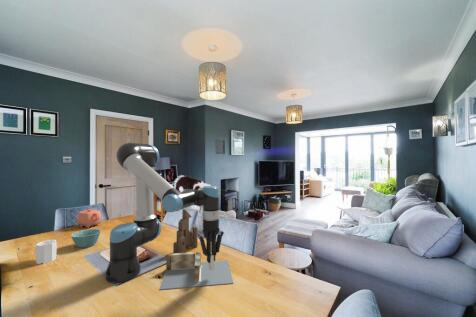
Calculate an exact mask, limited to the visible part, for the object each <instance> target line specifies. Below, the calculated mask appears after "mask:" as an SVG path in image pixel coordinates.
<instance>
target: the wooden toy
mask: <svg viewBox="0 0 476 317" xmlns="http://www.w3.org/2000/svg"><path fill="white" fill-rule="evenodd" d="M181 210H182V213H181V215H182V218H181V219H179V221H178V225H177V229H178V230H176V241H174V242H173V245H172V246H173V247H172V248H173V250H172V251H173V253H186V249H190V248H193V249H194V248H195V249H196V248H198V239H199V238H198V235H199V234H198V230H199V228H198V226H193V227H192V229H191V230H192V231H190V218H192V215H191V214H190V213H189V211H187V209H185V208H184V209H181ZM173 253H172V254H173Z"/></svg>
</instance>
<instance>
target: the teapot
mask: <svg viewBox="0 0 476 317" xmlns="http://www.w3.org/2000/svg"><path fill="white" fill-rule="evenodd" d="M101 223H102V214H101V211H100V210H97V209H92V208H88V209H87V210H83V211H79V212H78V213H77V218H76V224H77V226H79V227H80V228H84V227H85V228H86V229H89V228H88V227H90V228H91V227H92V226H94V225H97V226H99V224H101ZM83 226H84V227H83Z"/></svg>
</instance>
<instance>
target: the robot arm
mask: <svg viewBox="0 0 476 317" xmlns="http://www.w3.org/2000/svg"><path fill="white" fill-rule="evenodd" d="M116 160H117V162H118V164H119V165H120V166H121V167H122V168H123V169H124V170H125V171H128V172H131V173H132V175H134V176H135V193H136V194H135V198H136V199H135V200H136V201H135V203H136V205H135V206H136V216H135V217H134V218H133V222H124V223H121V224H118V225H115V226H114V227H113V228H112V229H111V231H110V234H109V262H108V264H107V267H106V269H105V270H106V271H105V275H104V278H105V280H106V281H107V282H109V283H122V282H125V281H129V280H132V279H133V278H135V277H137V276H139V274H140V273H141V269H142V268H141V264H140V261H139V258H138V248H139V247H141V246H143V245H145V244H148V243H149V242H153V241H155V239H157V238H158V237H159V236H160V234H161V232H162V224H161V222H160V220H159V219H158V218H157V217H158V216H157V215H156V214H155V212H154V211H155V210H154V194H155V196H156V197H158V198H159V199H160V200H161V206H163V210H164V211H165V212H167V213H175V212H179V211H181V210H183V209H184V210H185V209H187V208H190V207H192V206H200V207H201V206H202V229H203V230H202V231H201V234H198V239H199V243H200V247H201V251H202V254H203V255H204V256H205V257H206V262H208V266H209V269H210V270H213V269H214V261H216V256H217V253H220V248H221V244H222V238H223V235H224V234H225V233H224V231H222V230H220V227H219V226H220V219H219V218H220V213H219V212H220V204H219V202H220V193H219V192H220V191H219V190H220V189H219V187H218V186H216V185H205V186H203V188H202V189H192V188H187V189H183V190H182V191H179V190H177V189H176V188H175V187H174V186H173V185H172V184H170V183H169V182H168V181H167V180H166V179H165V178H164V177H163V176H161V175H160V173H158V172H157V171H156V170H155V169H156V165H157V163H158V162H159V160H160V153H159V150H158V148H157V147H156V146H155V145H153V144H150V143H149V144H148V143H140V142H139V143H138V142H127V143H123V144H122V145H120V146H119V147H118V149H117V151H116ZM205 241H206V242H205Z"/></svg>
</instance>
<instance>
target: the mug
mask: <svg viewBox="0 0 476 317" xmlns="http://www.w3.org/2000/svg"><path fill="white" fill-rule="evenodd" d="M57 244H58V243H57V240H56V239H48V240H43V241H40V242H38V243H36V244H35V247H34V252H35V263H36V264H37V265H42V264H41V263H45V264H47V262H48V263H51V262H53V261H55V260H56V259H57ZM50 261H51V262H50Z"/></svg>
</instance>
